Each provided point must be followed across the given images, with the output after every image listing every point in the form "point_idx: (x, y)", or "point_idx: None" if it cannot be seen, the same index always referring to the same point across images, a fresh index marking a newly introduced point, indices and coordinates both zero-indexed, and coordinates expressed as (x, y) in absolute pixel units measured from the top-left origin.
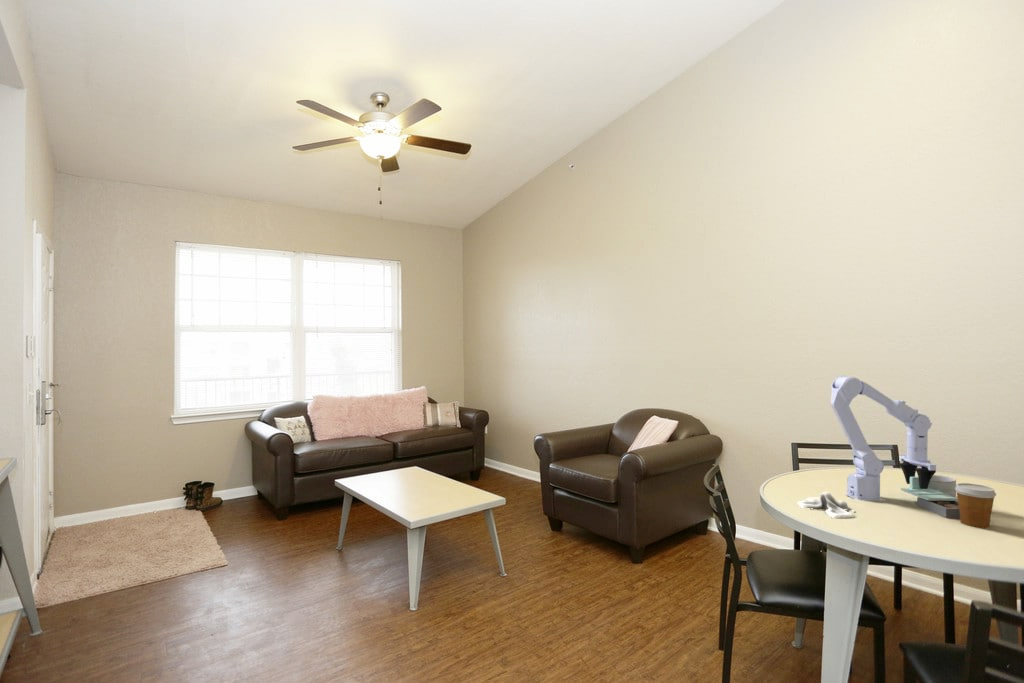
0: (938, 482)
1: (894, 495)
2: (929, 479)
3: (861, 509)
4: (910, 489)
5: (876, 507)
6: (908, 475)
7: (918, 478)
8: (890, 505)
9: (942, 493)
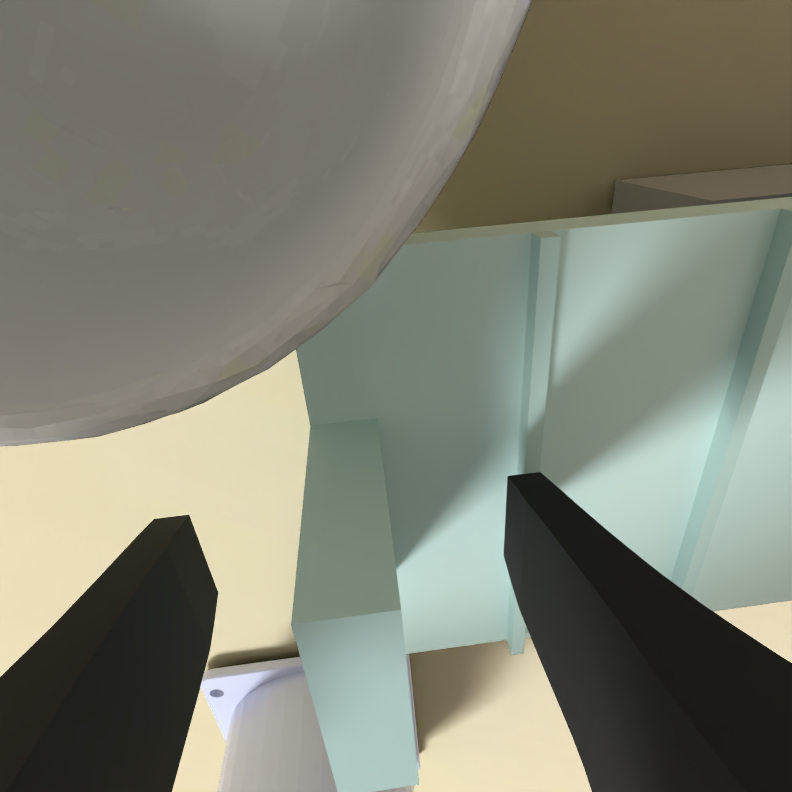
0: (443, 149)
1: (111, 492)
2: (705, 632)
3: (575, 778)
4: (428, 602)
5: (542, 718)
6: (151, 762)
7: (407, 681)
8: (497, 642)
9: (766, 328)
